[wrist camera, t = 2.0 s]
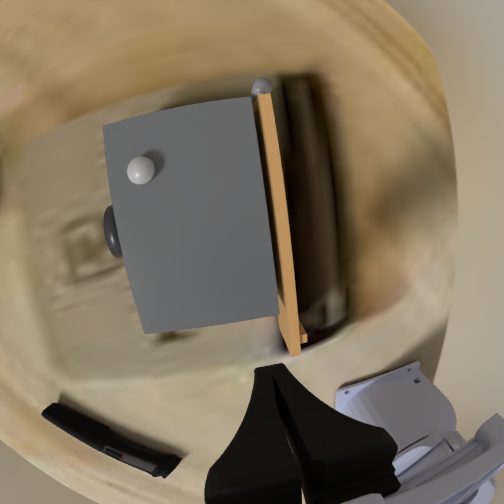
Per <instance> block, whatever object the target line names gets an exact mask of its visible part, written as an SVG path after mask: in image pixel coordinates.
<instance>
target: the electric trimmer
mask: <svg viewBox="0 0 504 504" xmlns="http://www.w3.org/2000/svg"><path fill="white" fill-rule="evenodd" d="M41 415H42V416H43V417H44V418H45V419H47V420H48V421H50V422H51V423H53V424H54V425H56V426H57V427H59V428H60V429H62V430H64V431H65V432H67V433H68V434H70V435H72V436H73V437H75V438H77V439H78V440H80V441H82V442H84V443H85V444H87V445H89V446H91V447H92V448H94V449H96V450H98V451H100V452H102V453H104V454H106V455H108V456H110V457H113V458H115V459H117V460H118V461H121V462H123V463H126V464H128V465H130V466H133V467H135V468H137V469H140V470H142V471H145V472H147V473H149V474H151V475H152V476H153V477H158V476H162V477H163V478H164V479H165V478H166V477H167V476H168V475H169V474H170V473H171V472H172V471H173V470H174V469H175V468H176V467H177V465H178V464H179V463H180V461H181V459H180V458H177V455H172V456H165V455H162V454H160V453H157V452H154V451H152V450H149V449H147V448H144V447H142V446H139V445H137V444H134V443H132V442H130V441H127V440H125V439H123V438H121V437H119V436H116V435H114V434H113V433H112V432H111V431H110V430H109V428H108V427H106V426H104V425H102V424H100V423H97V422H95V421H93V420H91V419H89V418H86V417H84V416H82V415H80V414H78V413H76V412H74V411H71V410H69V409H67V408H65V407H63V406H61V405H60V404H57V403H52V404H51V405H49V406H48V407H47V408H46V409H44V411H43V412H42V414H41Z"/></svg>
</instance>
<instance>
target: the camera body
mask: <svg viewBox="0 0 504 504" xmlns="http://www.w3.org/2000/svg"><path fill="white" fill-rule="evenodd" d="M103 135H104V146H105V156H106V164H107V172H108V180H109V187H110V193H111V199H112V205H111V206H108V207H107V209H106V211H105V214H104V234H105V238H106V242H107V245H108V247H109V249H110V251H111V253H112V254H113V255H114V256H115V257H117V258H119V257H123V259H124V263H125V267H126V271H127V275H128V279H129V283H130V286H131V290H132V294H133V297H134V301H135V304H136V307H137V311H138V314H139V317H140V320H141V324H142V327H143V330H144V333H145V334H151V333H160V332H168V331H177V330H185V329H192V328H200V327H207V326H214V325H220V324H227V323H233V322H239V321H245V320H251V319H257V318H263V317H268V316H274V315H279V314H280V310H279V302H278V293H277V284H276V276H275V268H274V259H273V251H272V243H271V236H270V228H269V220H268V212H267V205H266V197H265V190H264V183H263V176H262V168H261V161H260V154H259V147H258V141H257V134H256V127H255V121H254V114H253V107H252V101H251V97H241V98H232V99H224V100H217V101H210V102H203V103H197V104H191V105H186V106H181V107H176V108H171V109H166V110H161V111H157V112H153V113H148V114H144V115H140V116H136V117H133V118H129V119H125V120H122V121H118V122H115V123H112V124H108V125H105V126H103Z"/></svg>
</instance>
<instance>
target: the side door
mask: <svg viewBox="0 0 504 504" xmlns="http://www.w3.org/2000/svg"><path fill="white" fill-rule="evenodd" d="M272 89H273V84H272V82H271V81H270V80H269V79H267V78H258V79H257V80H256V81H255V82H254V85H253V87H252V90H251V93H250V96H249V97H251V101H252V107H253V114H254V121H255V127H256V134H257V141H258V147H259V154H260V161H261V168H262V176H263V183H264V190H265V197H266V205H267V212H268V220H269V228H270V236H271V243H272V251H273V259H274V268H275V276H276V284H277V293H278V302H279V310H280V314H279V315H278V322H279V328H280V330H281V333H282V335H283V337H284V340H285V342H286V345H287V347H288V349H289V352H290V354H291V357H292V356H296V355H301V349H300V344H301V343H305V342H307V333H306V332H305V330H304V328H303V326H302V325H301V323H300V321H299V319H298V310H297V298H296V287H295V276H294V266H293V256H292V247H291V238H290V229H289V220H288V212H287V204H286V196H285V188H284V180H283V173H282V165H281V158H280V151H279V144H278V138H277V131H276V125H275V118H274V112H273V106H272V100H271V94H270V93H271V91H272Z"/></svg>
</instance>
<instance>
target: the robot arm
mask: <svg viewBox="0 0 504 504" xmlns="http://www.w3.org/2000/svg"><path fill="white" fill-rule="evenodd" d="M419 368H420V363H419V362H418V361H415V362H413V363H411V364H408V365H406V366H403V367H401V368H398V369H396V370H393V371H390V372H388V373H385V374H382V375H379V376H377V377H374V378H371V379H368V380H365V381H362V382H359V383H356V384H352V385H349V386H346V387H343V388H340V389H338V390H337V392H336V402H335V409H333V408H331V407H330V406H328V405H327V404H325V403H324V402H322V401H321V400H320V399H318V398H317V397H316V396H314V395H313V394H312V393H311V392H310V391H308V390H307V389H306V388H305V387H304V386H303V385H302V384H301V383H300V382H299V381H298V380H297V379H296V378H295V377H294V376H293V375H292V374H291V372H290V371H289V370H288V369H287V367H286V366H285V365H284V364H283V363H279V364H274V365H269V366H264V367H258V368H256V369H255V370H254V373H255V377H254V385H253V390H252V395H251V399H250V402H249V405H248V408H247V411H246V414H245V416H244V419H243V421H242V423H241V425H240V427H239V429H238V431H237V433H236V435H235V436H234V438H233V440H232V441H231V443H230V444H229V446H228V447H227V448H226V450H225V451H224V453H223V454H222V455H221V456H220V458H219V459H218V460H217V461H216V462H215V463H214V464H213V465H212V467H211V468H210V469H209V472H208V475H207V479H206V483H205V490H204V496H205V503H206V504H302V490H303V494H304V498H305V502H306V504H490V502H491V500H492V498H493V496H494V493H495V491H496V485H495V483H496V480H495V478H494V477H493V476H494V475H495V474H496V473H497V472H498V471H499V470H500V469H501V468H502V467H503V466H504V419H503V418H502V417H501V416H500V415H499V414H498V413H496V414H495V415H493V416H492V417H491V418H490V419H488V420H487V421H486V422H485V423H483V424H482V425H481V426H480V428H479V429H478V430H477V432H476V434H475V436H474V437H473V438H472V439H471V440H469V441H468V442H466V441H465V439H464V438H463V437H462V436H461V435H460V433H459V432H458V431H455V430H456V415H455V411H454V409H453V406H452V404H451V403H450V401H449V400H448V399H447V398H446V397H445V396H444V394H442V392H441V391H440V390H439V389H438V388H437V387H436V386H435V385H434V384H433V383H432V382H431V381H430V380H429V379H428V378H427V377H426V376H425V375H424V374H423V373H422V372H421V371H420V370H419ZM347 390H348V391H347ZM286 436H287V437H286ZM287 439H288V440H287ZM289 444H290V445H289ZM290 447H291V448H290ZM291 450H292V451H291Z"/></svg>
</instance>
